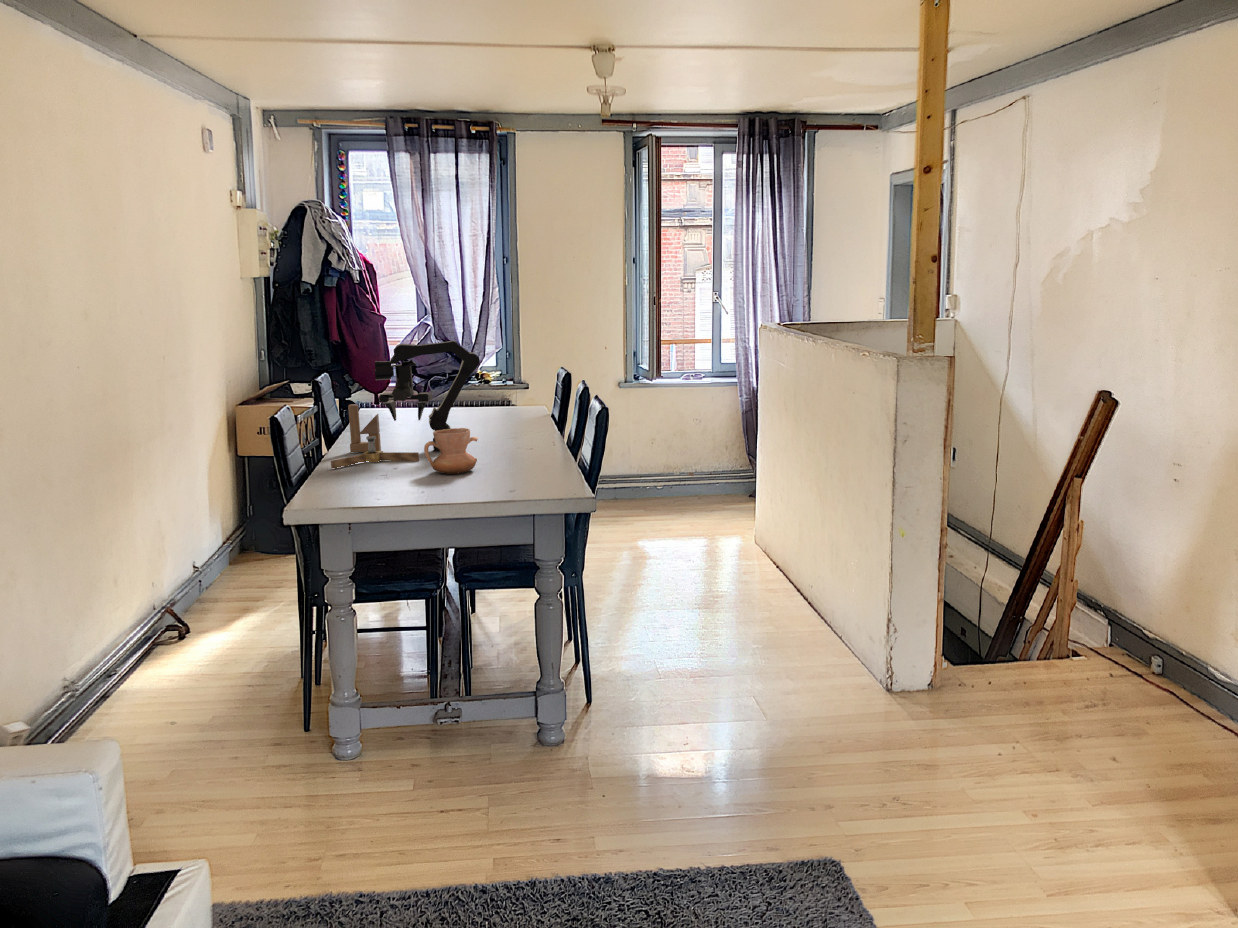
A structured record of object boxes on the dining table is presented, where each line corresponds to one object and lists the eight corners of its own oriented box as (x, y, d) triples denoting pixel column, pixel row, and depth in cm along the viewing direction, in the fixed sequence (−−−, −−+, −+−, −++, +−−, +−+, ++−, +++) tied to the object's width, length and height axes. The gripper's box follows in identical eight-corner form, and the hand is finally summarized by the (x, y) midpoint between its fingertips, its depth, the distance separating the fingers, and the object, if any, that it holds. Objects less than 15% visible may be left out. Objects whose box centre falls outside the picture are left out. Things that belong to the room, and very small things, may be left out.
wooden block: (379, 452, 381) (375, 404, 377) (350, 453, 380) (346, 405, 377) (381, 450, 384) (377, 403, 381) (352, 451, 384) (348, 404, 380)
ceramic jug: (476, 466, 351) (473, 425, 348) (483, 473, 337) (480, 431, 335) (423, 471, 346) (420, 429, 343) (428, 479, 332) (424, 436, 330)
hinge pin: (378, 460, 366) (376, 435, 364) (375, 461, 363) (373, 437, 361) (369, 460, 366) (368, 435, 365) (366, 461, 363) (364, 437, 362)
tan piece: (421, 459, 365) (420, 451, 365) (404, 469, 347) (403, 461, 347) (351, 459, 369) (350, 451, 368) (330, 469, 351) (330, 461, 350)
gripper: (371, 381, 368) (375, 424, 371) (422, 380, 365) (425, 423, 369) (382, 378, 378) (385, 419, 382) (431, 377, 376) (434, 418, 379)
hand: (407, 420), depth 377 cm, fingers open, 9 cm apart
